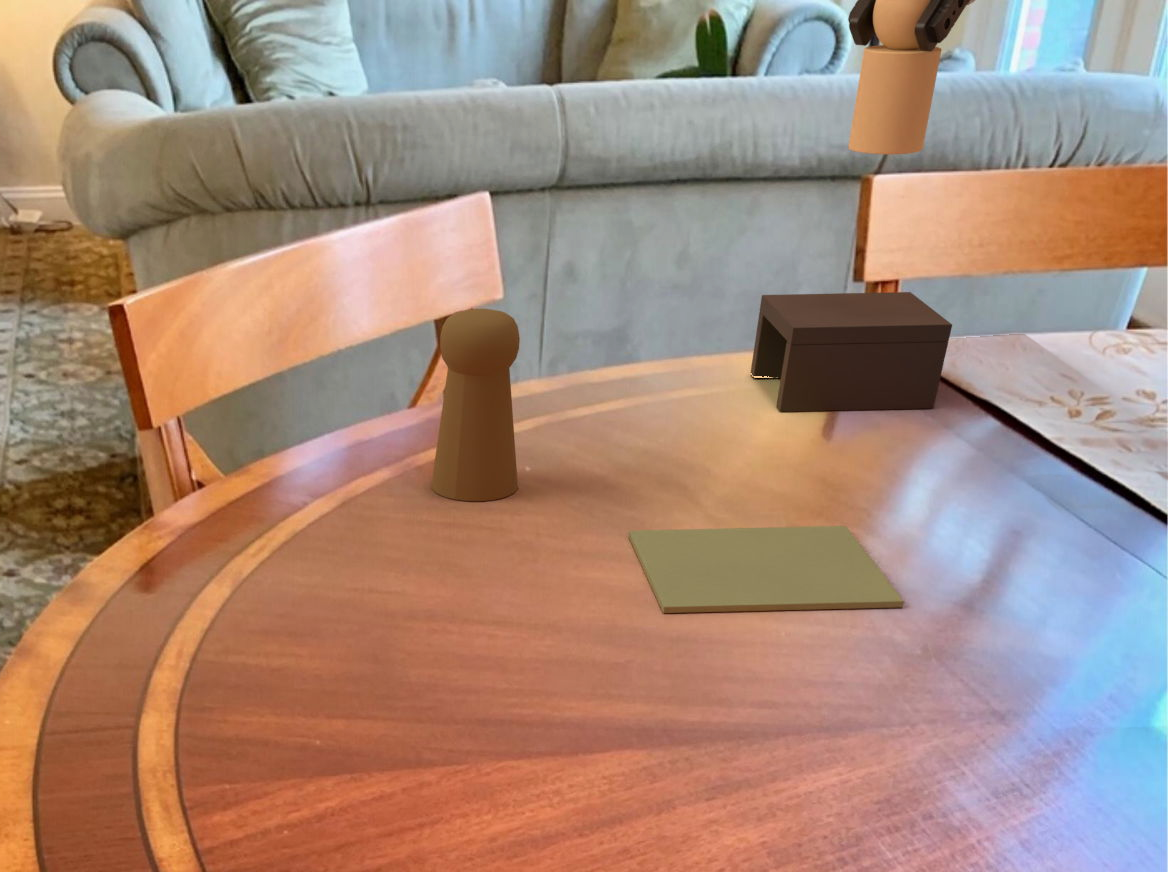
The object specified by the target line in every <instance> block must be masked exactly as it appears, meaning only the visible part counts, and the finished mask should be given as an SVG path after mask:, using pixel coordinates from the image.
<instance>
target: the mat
mask: <svg viewBox="0 0 1168 872" xmlns="http://www.w3.org/2000/svg"><path fill="white" fill-rule="evenodd" d="M628 538H629V542H630V543H631V546H632V548H633V550H634V552H635V554H636V556H637V559H638V560H639V563H640V565H641V567H642V569H643V572H644V575H645V576H646V578H647V580H648V582H649V585H650V587H651V589H652V591H653V593H654V595H655V598H656V600H657V603H658V604H659V607H660V609H661V611H662V613H663V614H677V613H678V614H682V613H723V612H724V613H726V612H727V613H728V612H763V611H764V612H765V611H767V612H768V611H805V610H806V611H809V610H845V609H847V610H849V609H889V608H890V609H891V608H893V609H894V608H903V607H904V603H905V601H904V599H903V597H901V595H900V594H899V593H898V591H897V590H896V589H895V587H894V586H893V585H892V584H891V582H890V581H889V580H888V578H887V577H886V576H885V574H884V573H883V572H882V571H881V569H880V568H879V567H878V565H877V564H876V563H875V561H874V560H873V559H872V558H871V556H870V555H869V553H868V552H867V551H866V550H865V549H864V547H863V546H862V545H861V543H860V542H859V541H858V540H857V538H856V536H854V534H853V533H852V532H851V530H850V529H849V527H848V526H847V525H821V526H820V525H819V526H818V525H817V526H816V525H815V526H814V525H813V526H776V527H773V526H771V527H738V528H737V527H731V528H726V527H725V528H687V529H686V528H685V529H683V528H682V529H647V530H646V529H643V530H642V529H640V530H628Z"/></svg>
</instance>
